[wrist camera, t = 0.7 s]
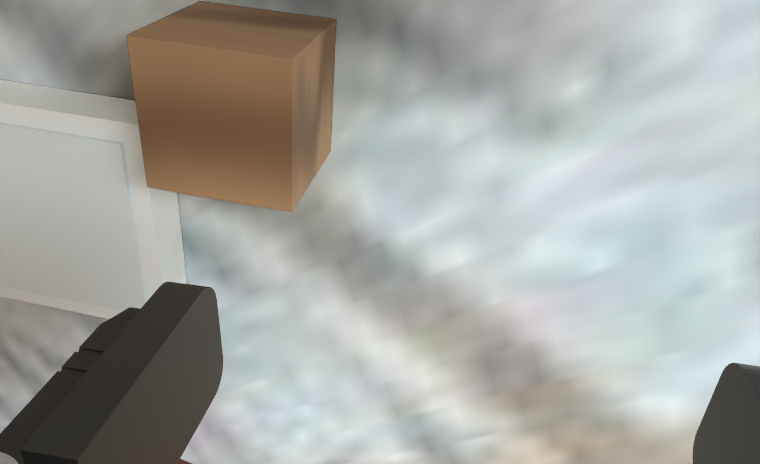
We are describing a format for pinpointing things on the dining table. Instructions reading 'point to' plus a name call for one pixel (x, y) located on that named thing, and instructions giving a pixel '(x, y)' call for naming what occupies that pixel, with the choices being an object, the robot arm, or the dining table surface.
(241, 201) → the walnut cube
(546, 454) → the dining table surface
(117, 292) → the tray
